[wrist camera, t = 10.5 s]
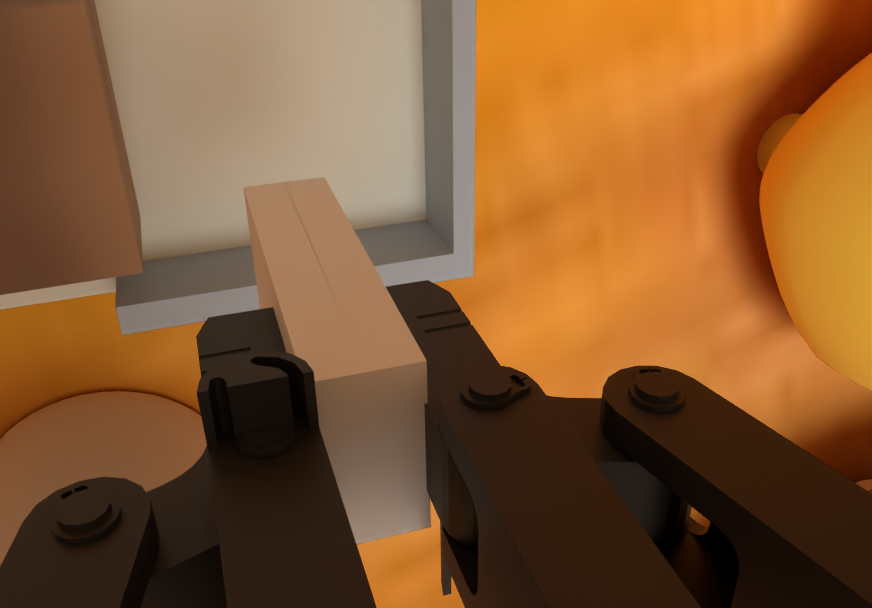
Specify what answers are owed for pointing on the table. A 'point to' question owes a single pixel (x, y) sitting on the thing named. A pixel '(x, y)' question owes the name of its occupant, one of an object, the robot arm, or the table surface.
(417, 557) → the table surface
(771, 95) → the table surface
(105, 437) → the mug
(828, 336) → the teapot
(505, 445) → the robot arm
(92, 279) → the walnut block
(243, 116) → the deck
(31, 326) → the table surface
